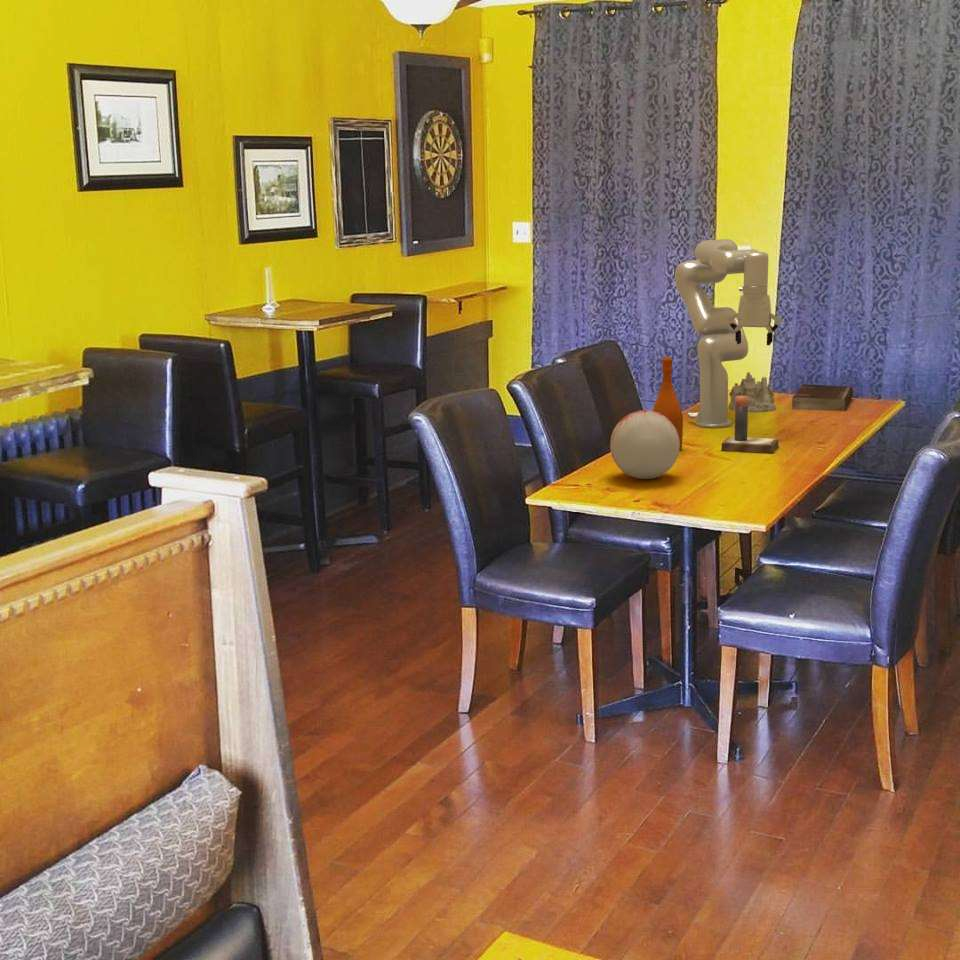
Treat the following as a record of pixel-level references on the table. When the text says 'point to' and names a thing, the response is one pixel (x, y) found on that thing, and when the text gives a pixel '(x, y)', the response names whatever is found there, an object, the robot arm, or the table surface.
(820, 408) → the hardback book
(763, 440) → the picture frame
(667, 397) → the wine bottle
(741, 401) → the marker
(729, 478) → the table surface
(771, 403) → the miniature castle
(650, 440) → the decorative orb
